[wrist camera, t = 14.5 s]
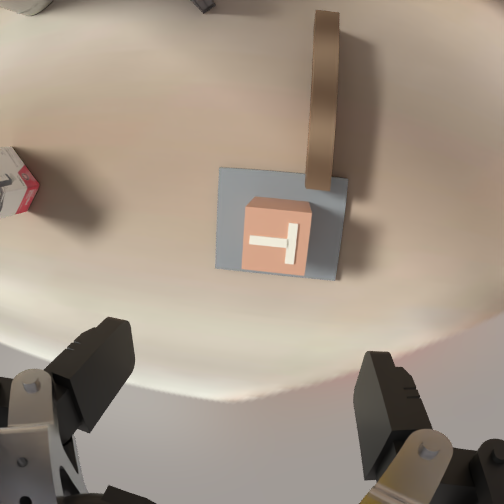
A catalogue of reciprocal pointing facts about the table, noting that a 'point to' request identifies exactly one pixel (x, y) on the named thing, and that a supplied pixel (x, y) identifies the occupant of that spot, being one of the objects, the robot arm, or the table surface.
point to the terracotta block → (276, 235)
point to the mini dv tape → (204, 4)
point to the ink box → (15, 184)
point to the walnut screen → (323, 101)
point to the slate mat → (282, 187)
